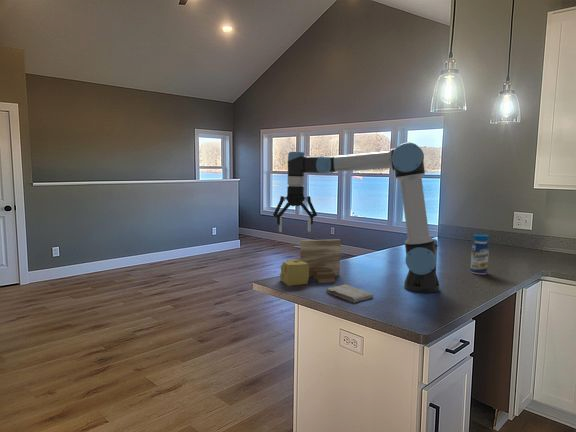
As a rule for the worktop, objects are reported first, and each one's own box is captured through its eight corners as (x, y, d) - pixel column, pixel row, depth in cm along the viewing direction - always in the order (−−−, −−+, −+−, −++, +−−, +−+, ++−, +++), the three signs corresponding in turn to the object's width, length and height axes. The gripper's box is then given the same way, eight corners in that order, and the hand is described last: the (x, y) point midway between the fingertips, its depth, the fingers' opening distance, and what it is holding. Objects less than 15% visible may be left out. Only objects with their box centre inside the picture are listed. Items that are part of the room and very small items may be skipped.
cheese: (279, 280, 199) (280, 260, 198) (300, 278, 203) (301, 258, 202) (287, 286, 190) (287, 264, 189) (309, 284, 194) (309, 263, 192)
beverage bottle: (486, 271, 221) (488, 234, 219) (489, 275, 213) (491, 236, 211) (468, 270, 224) (471, 233, 221) (471, 274, 215) (473, 235, 213)
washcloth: (343, 289, 188) (343, 282, 188) (374, 299, 174) (374, 292, 174) (324, 293, 181) (324, 286, 181) (354, 304, 167) (354, 297, 167)
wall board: (347, 281, 198) (348, 244, 196) (306, 283, 195) (306, 245, 193) (336, 273, 214) (337, 238, 212) (298, 274, 211) (299, 239, 209)
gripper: (319, 185, 197) (318, 229, 200) (267, 185, 193) (267, 230, 195) (324, 186, 190) (323, 232, 192) (269, 185, 185) (269, 233, 188)
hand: (294, 231), depth 194 cm, fingers open, 13 cm apart
